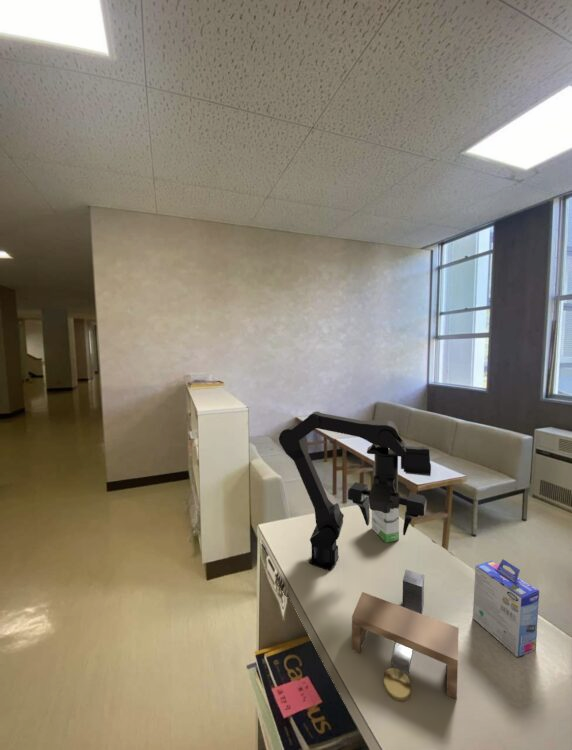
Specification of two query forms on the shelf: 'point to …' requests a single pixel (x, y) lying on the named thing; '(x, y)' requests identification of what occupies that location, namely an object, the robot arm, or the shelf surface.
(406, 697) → the gold round piece
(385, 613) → the walnut shelf
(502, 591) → the ink cartridge box
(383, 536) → the ink box
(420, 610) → the grey bar
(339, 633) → the shelf surface
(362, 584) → the shelf surface
